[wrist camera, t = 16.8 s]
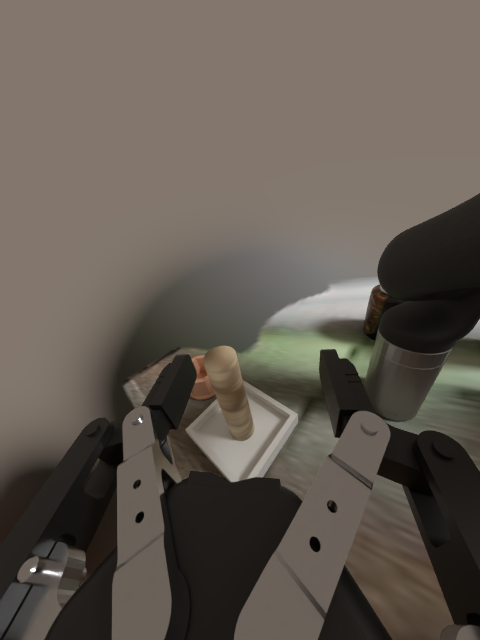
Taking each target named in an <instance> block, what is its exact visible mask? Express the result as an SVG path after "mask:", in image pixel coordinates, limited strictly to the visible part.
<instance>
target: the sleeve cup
mask: <svg viewBox="0 0 480 640" xmlns="http://www.w3.org/2000/svg"><path fill="white" fill-rule="evenodd" d="M204 356H205V355H201V356H195V357H194V358H193V359H192V362H193V364H194V366H195V369H196V372H197V378H196V381H195V384H194V387H193V389H192V392H191V395H190V397H192V398H193V399H195V400H207V399H210V398H212V397H214V396H215V393H214V390H213V387H212V385H211V382H210V380H209V377H208V375H207V372H206V370H205V367H204V365H203V358H204Z"/></svg>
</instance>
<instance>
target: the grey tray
mask: <svg viewBox="0 0 480 640" xmlns="http://www.w3.org/2000/svg"><path fill="white" fill-rule="evenodd" d="M243 383H244V387H245V391H246V395H247V399H248V403H249V407H250V411H251V415H252V419H253V423H254V432H253V434H252V436H251V437H250V438H249V439H247V440H245V441H237V440H235V439H234V438H233V437H232V435H231V433H230V431H229V428H228V426H227V423H226V420H225V418H224V415H223V413H222V410H221V408H220V405H219V403H218V400H217V399H216V400H215V401H214V402H213V403H212V404H211V405H210V406H209V407H208V408H207V409H206V410H205V411H204V412H203V413H202V414H201V415H200V416H199V417H198V418H197V419H196V420H195V421H194V422H193V423H191V424H190V425H189V426H188V427H187V428H186V429H185V431H186V432H187V434H188V435H189V437H190V438H191V439H192V440H193V442H194V443H195V444H196V445H197V446H198V447H199V448H200V450H201V451H202V452H203V453H204V454H205V455H206V456H207V458H208V459H209V460H210V461H211V462H212V463H213V464H214V466H215V467H216V468H217V469H218V470H219V471H220V472H221V474H222V475H223V476H224V477H225V478H226V479H227V480H228V481H230V482H236V481H241V480H245V479H249V478H254V477H262V478H263V476H264V475H265V473H266V472H267V470H268V468H269V467H270V465H271V464H272V462H273V461H274V459H275V457H276V456H277V454H278V453H279V451H280V450H281V448H282V447H283V445H284V443H285V442H286V440H287V439H288V437H289V436H290V434H291V433H292V431H293V429H294V428H295V426H296V425H297V423H298V414H297V413H295V412H293V411H292V410H290V409H289V408H287V407H285V406H284V405H282V404H281V403H279V402H277V401H276V400H274V399H273V398H271V397H269V396H268V395H266V394H265V393H263V392H261V391H260V390H258V389H257V388H255V387H253V386H252V385H250V384H249V383H247V382H245V381H244V380H243Z"/></svg>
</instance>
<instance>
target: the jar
mask: <svg viewBox="0 0 480 640" xmlns="http://www.w3.org/2000/svg"><path fill="white" fill-rule="evenodd" d="M405 302H407V301H402V300H399V299H395V298H393V297H392V296H390V295H389V294H387V293H386V292H385V291H384V289H383V288H382V287H381V285H377V286H375V287H374V288H373V289H372V292H371V295H370V299H369V303H368V307H367V312H366V317H365V322H364V332H365V333H366V335H367V336H369V337H370V338H372V339H373V340H376V336H377V332H378V328H379V324H380V320H381V317H382V315H383V314H384V313H385V312H386V311H387V310H388V309H390V308H392V307H394V306H397V305H399V304H402V303H405Z"/></svg>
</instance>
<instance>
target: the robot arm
mask: <svg viewBox="0 0 480 640" xmlns="http://www.w3.org/2000/svg"><path fill="white" fill-rule="evenodd" d="M377 273H378V279H379V282H380V285H381V287H382V288H383V289H384V291H385V292H386V293H387V294H389V295H390V296H392V297H393V298H395V299H399V300H402V301H407V302H405V303H402V304H399V305H397V306H394V307H392V308H390V309H388V310H387V311H386V312H385V313H384V314H383V315H382V317H381V320H380V324H379V328H378V332H377V336H376V340H375V344H374V348H373V352H372V356H371V359H370V363H369V367H368V371H367V375H366V378H365V382H364V386H363V384H362V383H361V379H360V377H359V376H358V373H357V371H356V368H355V366H354V365H353V364H352V363H351V362H350V361H349V360H348V359H347V358H346V359H339V357H338V354H337V352H336V350H335V349H328V350H321V351H320V365H319V373H320V379H321V383H322V387H323V391H324V396H325V400H326V404H327V408H328V412H329V416H330V420H331V424H332V428H333V432H334V436H335V437H337V438H340V439H339V440H338V442H337V444H336V446H335V448H334V450H333V452H332V453H331V454H330V455H329V456H328V457H327V458H326V460H325V462H324V463H323V465H322V467H321V469H320V471H319V473H318V474H317V476H316V478H315V480H314V482H313V484H312V485H311V487H310V489H309V491H308V493H307V495H306V497H305V498H304V500H303V501H302V500H301V499H300V498H299V497H298V496H297V495H296V494H294V493H293V492H292V491H290V490H289V489H287V488H285V487H283V486H281V484H280V479H273V478H262V477H254V478H249V479H245V480H241V481H236V482H230V481H228V480H225V479H223V478H221V477H219V476H217V475H215V474H212V473H208V472H197V471H190V474H189V478H187V479H184V480H182V479H181V476H180V474H179V472H178V470H177V467H176V464H175V460H174V455H173V451H172V447H171V443H170V439H169V436H168V432H169V430H170V429H178V426H179V423H180V421H181V418H182V415H183V413H184V410H185V408H186V405H187V402H188V400H189V397H190V395H191V392H192V389H193V387H194V384H195V381H196V378H197V372H196V369H195V366H194V364H193V362H192V359H191V357H190V355H188V354H187V355H176V356H175V358H174V360H173V362H172V363H169V364H168V365H167V366H166V367H165V368H164V369H163V370H162V372H161V373H160V375H159V378H158V379H157V380H156V383H155V384H154V386H153V387H152V389H151V391H150V392H149V394H148V396H147V398H146V399H145V401H144V403H143V404H142V406H141V407H138V408H135V409H134V410H132V411H131V412H130V413H129V414H128V415H127V416H126V418H124V419H121V420H118V421H114V422H111V423H110V422H109V421H108V420H107V419H106V418H98V419H96V420H94V421H92V422H91V423H89V424H88V425H87V426H86V427H85V428H84V429H83V430H82V432H81V433H80V435H79V436H78V437H77V439H76V440H75V442H74V443H73V444H72V446H71V447H70V449H69V450H68V451H67V453H66V454H65V456H64V457H63V459H62V460H61V461H60V463H59V464H58V466H57V467H56V469H55V470H54V471H53V473H52V474H51V475H50V477H49V478H48V480H47V481H46V482H45V484H44V485H43V487H42V488H41V489H40V491H39V492H38V494H37V495H36V497H35V498H34V499H33V501H32V502H31V504H30V505H29V506H28V508H27V509H26V511H25V512H24V513H23V515H22V516H21V518H20V519H19V521H18V522H17V523H16V525H15V526H14V528H13V529H12V530H11V532H10V533H9V534H8V536H7V537H6V539H5V540H4V541H3V543H2V544H1V546H0V640H392V638H391V637H390V635H389V634H388V632H387V630H386V629H385V627H384V626H383V624H382V623H381V621H380V619H379V618H378V616H377V615H376V613H375V612H374V610H373V608H372V607H371V605H370V604H369V602H368V601H367V599H366V598H365V596H364V594H363V593H362V591H361V590H360V588H359V587H358V585H357V583H356V582H355V580H354V579H353V577H352V576H351V574H350V572H349V571H348V569H347V568H346V566H345V565H344V564H345V561H346V559H347V556H348V553H349V551H350V548H351V545H352V542H353V540H354V537H355V534H356V531H357V529H358V526H359V523H360V521H361V518H362V515H363V512H364V510H365V507H366V504H367V501H368V499H369V496H370V493H371V490H372V487H373V483H374V480H375V477H376V474H377V475H380V476H382V477H385V478H387V479H390V480H392V481H394V482H397V483H399V484H402V486H403V489H404V491H405V494H406V497H407V499H408V502H409V505H410V507H411V510H412V513H413V515H414V518H415V521H416V523H417V526H418V529H419V531H420V534H421V537H422V539H423V542H424V544H425V547H426V550H427V552H428V555H429V558H430V560H431V563H432V566H433V568H434V571H435V574H436V576H437V579H438V582H439V584H440V587H441V590H442V592H443V595H444V598H445V600H446V603H447V606H448V608H449V611H450V613H451V616H452V619H453V621H454V624H453V625H448V626H446V627H445V628H444V629H443V630H442V632H441V634H440V640H480V472H479V470H478V469H477V467H476V466H475V464H474V462H473V461H472V459H471V458H470V456H469V455H468V453H467V452H466V451H465V449H464V448H463V447H462V446H461V445H460V444H459V443H458V442H456V441H455V440H454V439H452V438H450V437H449V436H447V435H445V434H442V433H440V432H436V431H423V432H421V433H420V434H419V435H417V434H413V433H410V432H407V431H404V430H401V429H398V428H395V427H393V426H391V425H389V424H387V423H386V422H385V421H384V420H383V419H382V418H380V417H379V416H378V415H377V414H379V415H381V416H382V417H385V418H387V419H390V420H394V421H407V420H410V419H412V418H413V417H415V415H416V414H417V412H418V410H419V408H420V407H421V405H422V403H423V401H424V400H425V398H426V396H427V394H428V392H429V390H430V389H431V387H432V385H433V383H434V381H435V380H436V378H437V376H438V374H439V372H440V371H441V369H442V367H443V365H444V363H445V361H446V359H447V357H448V356H449V354H450V352H451V350H452V348H453V347H454V345H455V343H456V341H457V340H459V339H461V338H463V337H464V336H466V335H467V334H468V333H469V332H470V331H471V330H472V329H473V328H474V326H475V325H476V324H477V322H478V321H479V319H480V193H479V194H478V195H476V196H474V197H473V198H471V199H469V200H467V201H465V202H464V203H462V204H460V205H458V206H456V207H455V208H452V209H450V210H448V211H446V212H444V213H442V214H440V215H438V216H436V217H434V218H431V219H429V220H427V221H425V222H423V223H421V224H419V225H416V226H414V227H412V228H410V229H407V230H405V231H404V232H402V233H400V234H399V235H397V236H396V237H395V238H394V239H393V240H392V241H391V242H390V243H389V244H388V246H387V247H386V249H385V250H384V252H383V254H382V256H381V258H380V261H379V264H378V271H377ZM376 413H377V414H376ZM97 458H99V459H100V462H99V464H98V466H97V467H96V469H95V471H94V473H93V474H92V476H91V478H90V480H89V481H88V483H87V485H86V487H85V488H84V490H83V485H84V481H85V479H86V477H87V476H88V474H89V472H90V471H91V469H92V467H93V466H94V464H95V462H96V460H97ZM116 487H117V527H118V528H117V532H118V533H117V536H118V537H117V538H118V539H117V542H118V545H117V546H116V548H115V549H114V550H113V551H112V552H111V553H110V554H109V555H108V556H107V557H106V559H105V560H104V561H103V562H102V563H101V564H100V565H99V566H98V567H97V568H96V570H95V571H94V572H93V573H92V574H91V575H90V576H89V577H88V578H87V580H86V581H85V582H84V583H83V581H84V579H85V576H86V568H85V561H86V557H85V554H86V551H87V549H88V547H89V544H90V543H91V541H92V539H93V536H94V534H95V532H96V530H97V528H98V526H99V523H100V521H101V519H102V517H103V515H104V512H105V511H106V509H107V506H108V504H109V502H110V500H111V498H112V496H113V493H114V491H115V489H116ZM82 583H83V584H82ZM81 584H82V585H81ZM80 585H81V586H80Z"/></svg>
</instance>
